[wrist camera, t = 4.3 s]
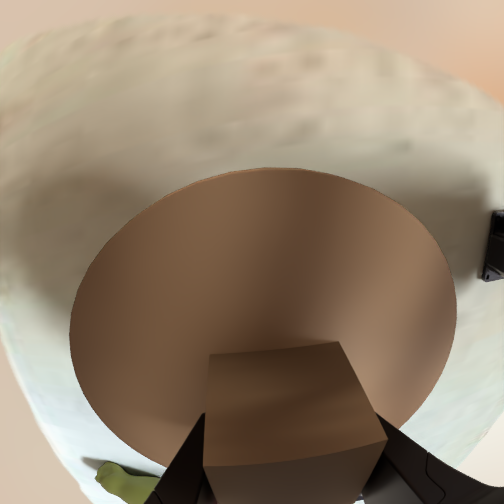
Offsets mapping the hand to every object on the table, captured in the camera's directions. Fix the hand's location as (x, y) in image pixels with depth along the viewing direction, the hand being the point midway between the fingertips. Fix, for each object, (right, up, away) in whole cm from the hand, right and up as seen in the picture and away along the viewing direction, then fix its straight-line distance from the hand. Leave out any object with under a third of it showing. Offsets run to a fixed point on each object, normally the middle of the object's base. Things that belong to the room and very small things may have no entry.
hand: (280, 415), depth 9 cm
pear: (-15, -23, +20) cm, 34 cm away
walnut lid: (0, +1, +2) cm, 2 cm away
